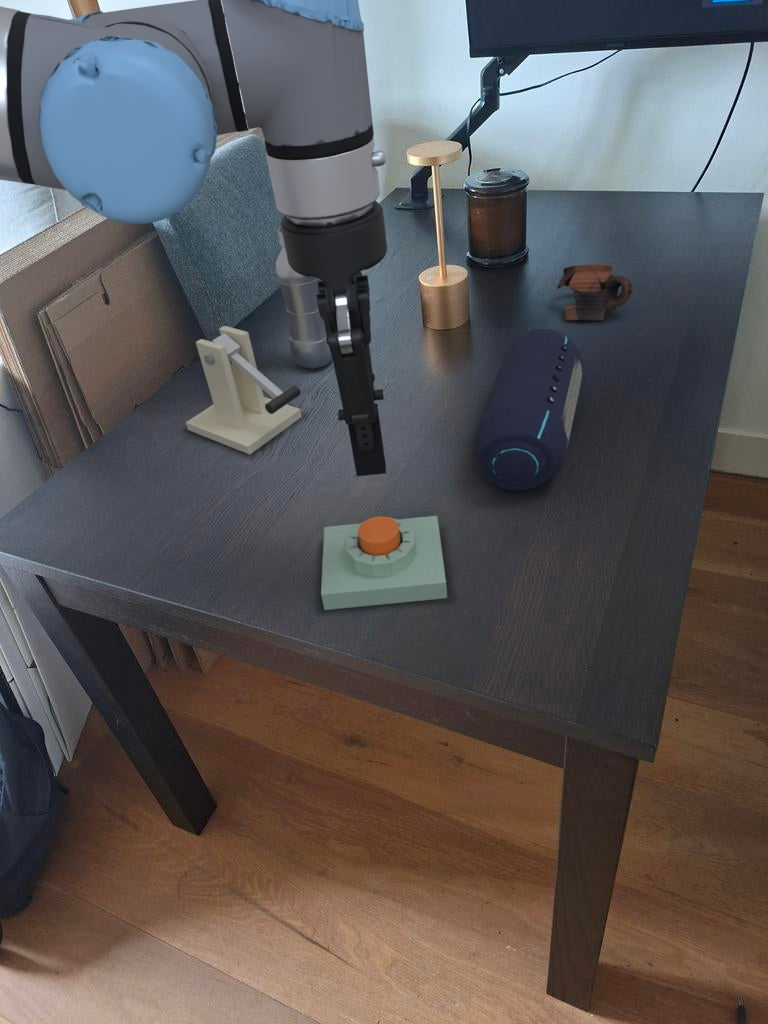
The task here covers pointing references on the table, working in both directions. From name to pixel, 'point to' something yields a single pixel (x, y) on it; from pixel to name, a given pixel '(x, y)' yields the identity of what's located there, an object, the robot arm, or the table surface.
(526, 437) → the portable speaker
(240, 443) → the bracket
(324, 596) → the button block
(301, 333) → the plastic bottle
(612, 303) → the pottery mug
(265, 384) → the lever
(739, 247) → the table surface
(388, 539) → the button
